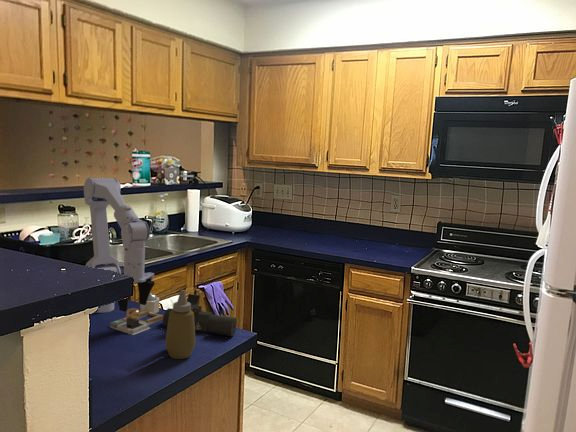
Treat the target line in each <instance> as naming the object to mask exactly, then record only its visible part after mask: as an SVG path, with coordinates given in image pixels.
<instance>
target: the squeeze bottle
mask: <svg viewBox="0 0 576 432" xmlns="http://www.w3.org/2000/svg"><path fill="white" fill-rule="evenodd" d="M187 299H188V298H187V294H186V290H185V289H181V290H180V291H179V295H178V299H177V301H175V302H173V304H172V305H173V306H172V309H173V310H172V311H171V312H170V313H169V319H168V326H166V332H165V333H166V334H165V335H166V336H165V341H164V343H165V347H166V351H167V353H168V354H167V355H168V357H170V358H171V359H175V360H184V359H188V358H189V357H191V356H192V353H193V350H194V347H195V346H196V343H197V342H196V331H195V322H194V312H193V311H191V303H189V302H187Z"/></svg>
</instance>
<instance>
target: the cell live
mask: <svg viewBox="0 0 576 432" xmlns="http://www.w3.org/2000/svg"><path fill="white" fill-rule="evenodd" d="M139 313H140V308H136V307H132V308H127V311H126V315H125V317H126V327H127V328H130V329H134V328H137V327H139V320H140V319H139Z"/></svg>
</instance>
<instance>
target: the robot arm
mask: <svg viewBox="0 0 576 432" xmlns="http://www.w3.org/2000/svg"><path fill="white" fill-rule="evenodd" d="M121 189H122V187H121V182H120V181H119V179H118V178H117V177H113V178H112V177H110V178H109V177H87V178H86V179H85V180H84V184H83V199H84V202H85V203H84V204H86V205H87V206H89V210H90V222H91V232H92V233H91V234H92V244H93V245H92V247H93V257H92V258H90V259H89V260H88V261H87V262H86V263H85V267H86V266H88V267H92V268H97V269H104V270H111V271H114V272H117V273H120V274H121V275H122V272H121V271H122V270H121V268H120V263H119V260H118V259H117V258H115V257H114V256H112V255H111V249H110V247H111V246H110V238H109V237H110V235H109V226H108V224H109V223H108V214H107V207H108V206H109V205H110V206H111V208H112V209H113V210H114V212H113V217H114V219H115V220H116V222H117V224H118V226H119V227H120V229H121V231H120V236H121V239H122V247H123V248H124V253H123V254H124V259H123V260H124V261H123V276H124V275H128V276H132V277H133V279H134V282H133V283H134V284H133V285H135V284H136V286H137V289H138V301H139V302H138V303H139V305H140V304H142V305H146V303H147V299H148V296H149V293H151V291H152V289H153V287H154V286H155V281H154V280H155V273H154V272H150V271H149V272H145V265H146V263H145V259H146V256H145V255H146V241H148V239H149V238H150V233H151V232H150V227H149V225H148V223H147V221H144V220H143V219H140V218H139V217H138V215H137V213H136V212H135V211H134V209H133V207H132V206H130V205H127V204H126V203H125V200H124V199H123V197H122V194H121ZM128 302H129V297H128V298H126V299H123V300H120V301H117V304H118V308H119V311H120V312H127V309H128V304H129V303H128ZM114 310H115V302H114V303H111V304H108V305H104V306H101V307H100V308H98V311H97V312H96V313H101V314H102V313H110V312H112V311H114Z"/></svg>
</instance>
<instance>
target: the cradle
mask: <svg viewBox="0 0 576 432" xmlns="http://www.w3.org/2000/svg"><path fill="white" fill-rule="evenodd" d="M109 325H110V326H109V328H111V329H114V330H117V331H120V332H123V333H126V334H128V335H132V336H133V335H134V336H135V335H137V334H140V333H142V332H145V331H148V330H150V329H151V327H149V325H147V324H146V323H143V322H140V321H139V327H137V328H134V329H130V328H127V327H126V316H125V317H123V318H120V319H117V320H114V321H110V323H109Z"/></svg>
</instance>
